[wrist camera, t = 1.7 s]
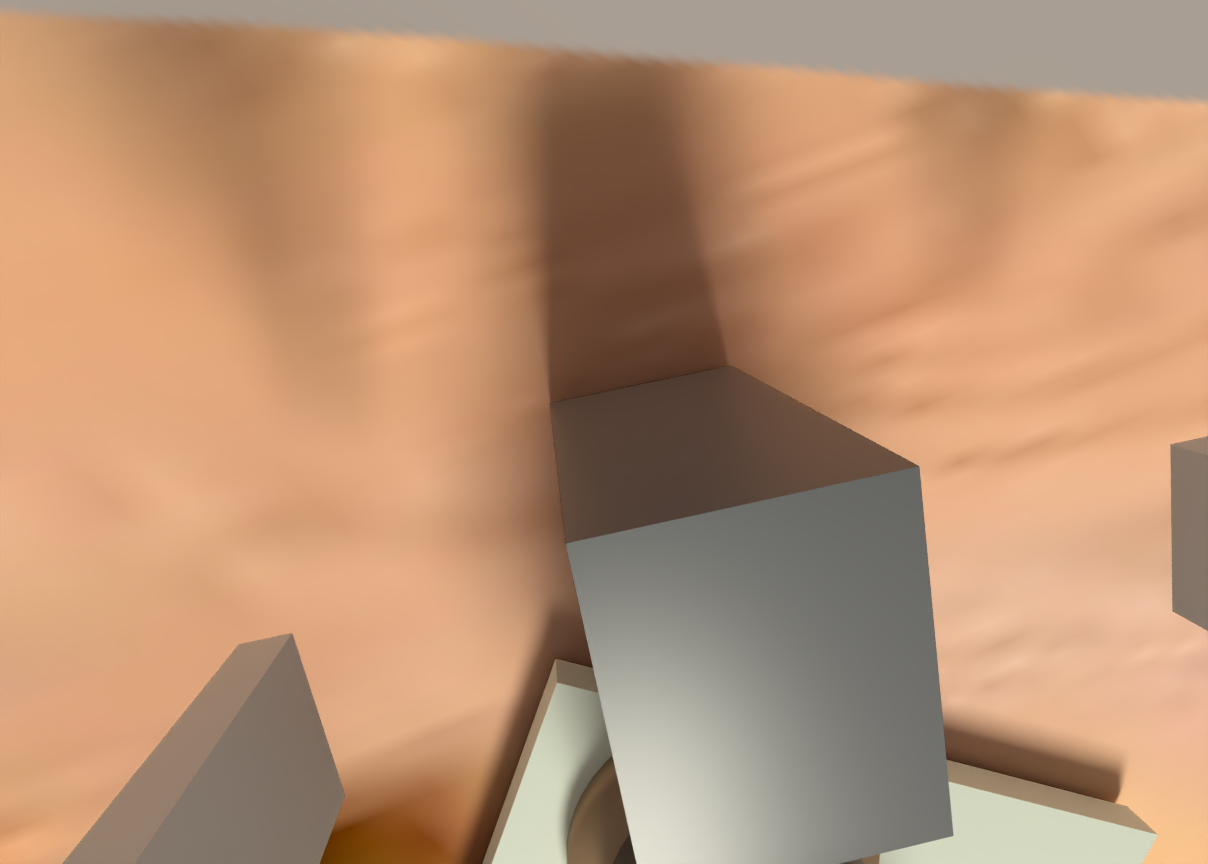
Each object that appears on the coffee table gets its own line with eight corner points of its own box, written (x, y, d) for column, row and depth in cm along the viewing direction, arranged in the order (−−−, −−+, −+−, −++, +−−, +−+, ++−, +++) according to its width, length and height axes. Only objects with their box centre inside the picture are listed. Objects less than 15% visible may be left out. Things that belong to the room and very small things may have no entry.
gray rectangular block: (594, 612, 17) (646, 910, 9) (549, 403, 16) (565, 543, 8) (763, 574, 17) (954, 836, 9) (731, 365, 16) (919, 466, 8)
